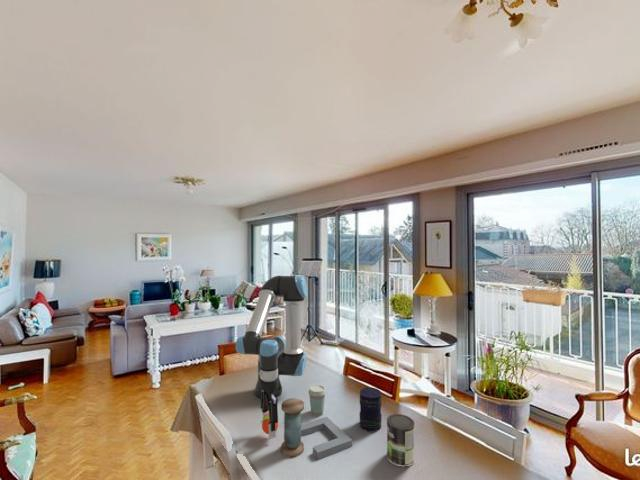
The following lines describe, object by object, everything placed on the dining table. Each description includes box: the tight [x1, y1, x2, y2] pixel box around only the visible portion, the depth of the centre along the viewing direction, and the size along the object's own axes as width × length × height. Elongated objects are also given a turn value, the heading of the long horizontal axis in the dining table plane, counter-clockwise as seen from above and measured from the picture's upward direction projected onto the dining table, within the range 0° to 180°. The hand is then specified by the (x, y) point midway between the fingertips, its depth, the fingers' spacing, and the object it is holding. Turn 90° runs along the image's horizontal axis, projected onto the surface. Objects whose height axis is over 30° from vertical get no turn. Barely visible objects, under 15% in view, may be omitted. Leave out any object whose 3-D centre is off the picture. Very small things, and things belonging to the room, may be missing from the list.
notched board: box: [301, 416, 353, 460], centre depth 131 cm, size 20×16×2 cm
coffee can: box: [386, 413, 415, 468], centre depth 120 cm, size 10×10×14 cm
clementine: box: [259, 416, 279, 435], centre depth 132 cm, size 8×7×7 cm
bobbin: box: [280, 397, 305, 458], centre depth 124 cm, size 9×9×18 cm
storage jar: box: [359, 386, 383, 433], centre depth 142 cm, size 10×10×15 cm
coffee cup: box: [308, 384, 327, 417], centre depth 152 cm, size 8×8×12 cm
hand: (268, 432), depth 131 cm, fingers closed on clementine, 7 cm apart
